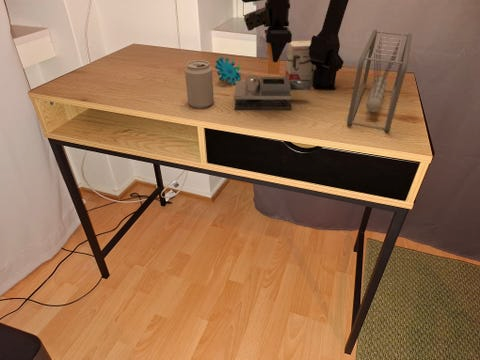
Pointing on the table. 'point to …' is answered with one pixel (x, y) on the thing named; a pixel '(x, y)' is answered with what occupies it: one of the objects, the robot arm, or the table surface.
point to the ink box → (299, 61)
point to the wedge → (272, 66)
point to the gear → (228, 70)
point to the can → (199, 83)
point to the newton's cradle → (379, 78)
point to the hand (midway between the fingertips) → (274, 60)
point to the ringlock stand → (267, 92)
